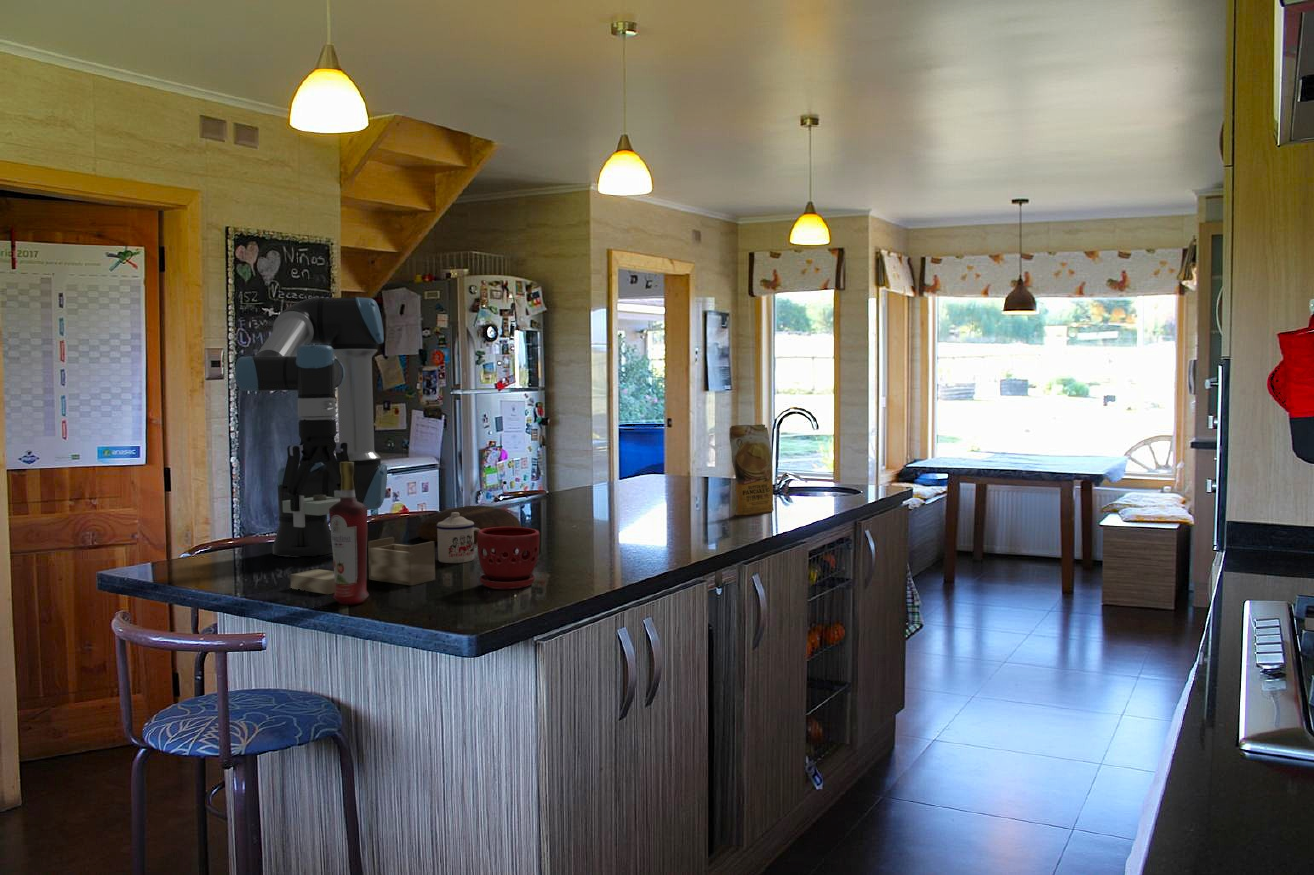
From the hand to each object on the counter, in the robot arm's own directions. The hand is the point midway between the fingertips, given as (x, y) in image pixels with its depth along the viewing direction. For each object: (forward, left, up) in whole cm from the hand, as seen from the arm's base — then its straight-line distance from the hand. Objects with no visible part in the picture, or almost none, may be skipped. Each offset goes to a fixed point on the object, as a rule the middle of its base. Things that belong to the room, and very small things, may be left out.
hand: (320, 523), depth 221 cm
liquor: (+16, -6, -14) cm, 22 cm away
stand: (0, 0, -14) cm, 14 cm away
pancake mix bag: (+26, +146, -14) cm, 149 cm away
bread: (-20, +67, -14) cm, 72 cm away
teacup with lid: (+2, +40, -14) cm, 43 cm away
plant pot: (+33, +22, -14) cm, 42 cm away
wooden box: (+8, +15, -14) cm, 22 cm away
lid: (0, 0, +3) cm, 3 cm away
